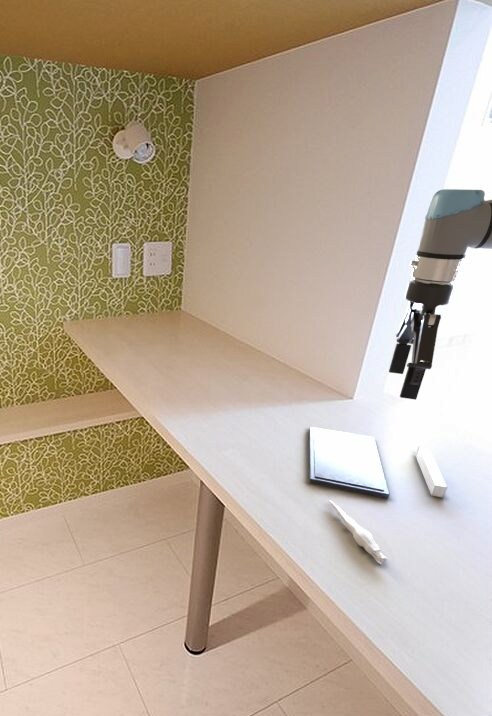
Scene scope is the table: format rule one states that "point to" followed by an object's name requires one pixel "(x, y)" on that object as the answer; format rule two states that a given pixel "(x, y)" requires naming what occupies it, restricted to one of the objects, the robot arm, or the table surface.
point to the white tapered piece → (360, 535)
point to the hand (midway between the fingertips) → (401, 384)
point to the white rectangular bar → (431, 472)
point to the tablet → (346, 462)
